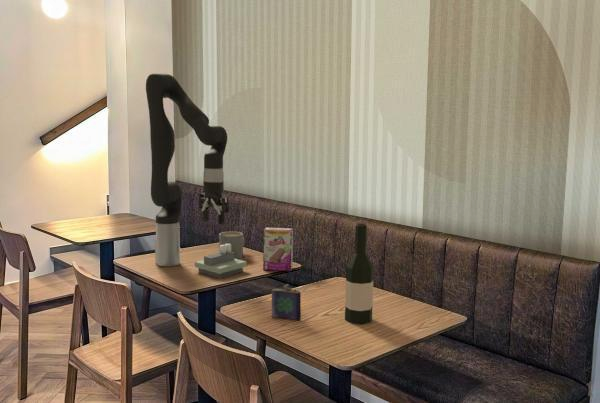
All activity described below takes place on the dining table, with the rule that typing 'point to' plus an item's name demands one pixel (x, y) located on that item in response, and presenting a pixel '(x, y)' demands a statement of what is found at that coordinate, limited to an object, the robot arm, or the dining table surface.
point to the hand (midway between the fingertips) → (213, 222)
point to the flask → (286, 304)
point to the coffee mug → (233, 242)
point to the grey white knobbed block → (220, 256)
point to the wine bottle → (359, 281)
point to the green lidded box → (221, 268)
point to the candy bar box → (278, 249)
